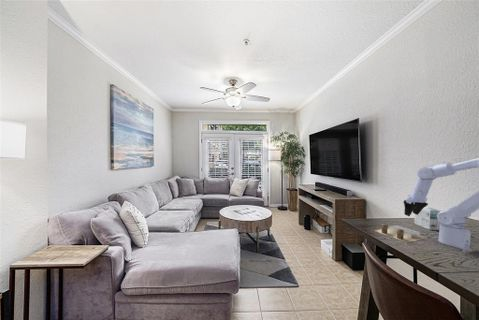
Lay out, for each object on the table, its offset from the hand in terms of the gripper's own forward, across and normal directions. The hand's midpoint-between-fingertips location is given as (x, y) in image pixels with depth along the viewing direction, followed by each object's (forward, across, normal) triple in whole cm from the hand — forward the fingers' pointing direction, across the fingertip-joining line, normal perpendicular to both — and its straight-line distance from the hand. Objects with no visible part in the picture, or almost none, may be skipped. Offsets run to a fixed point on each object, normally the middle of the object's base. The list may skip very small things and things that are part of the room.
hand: (411, 214), depth 110 cm
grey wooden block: (+7, +9, +4) cm, 12 cm away
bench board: (+8, +13, +4) cm, 16 cm away
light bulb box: (+10, -20, +1) cm, 23 cm away
